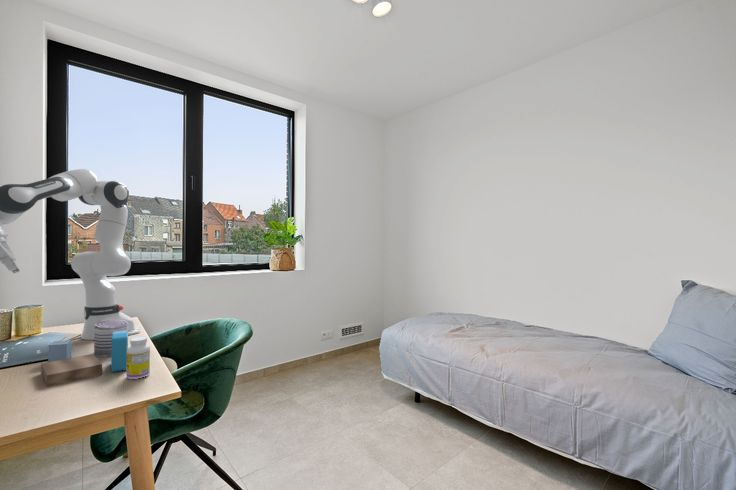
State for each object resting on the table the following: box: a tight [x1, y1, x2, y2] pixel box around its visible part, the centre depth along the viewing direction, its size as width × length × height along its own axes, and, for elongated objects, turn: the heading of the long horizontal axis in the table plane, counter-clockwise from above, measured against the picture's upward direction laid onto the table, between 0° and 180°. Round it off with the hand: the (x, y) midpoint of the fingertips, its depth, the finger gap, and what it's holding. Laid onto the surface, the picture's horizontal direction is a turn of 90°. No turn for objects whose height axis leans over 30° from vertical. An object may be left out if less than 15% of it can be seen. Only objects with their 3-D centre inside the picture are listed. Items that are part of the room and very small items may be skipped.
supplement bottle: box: [125, 336, 151, 380], centre depth 119 cm, size 7×7×13 cm
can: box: [93, 320, 129, 357], centre depth 142 cm, size 11×11×12 cm
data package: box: [110, 330, 129, 373], centre depth 127 cm, size 12×4×12 cm, turn 34°
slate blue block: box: [47, 339, 73, 362], centre depth 129 cm, size 5×5×8 cm
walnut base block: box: [40, 353, 103, 388], centre depth 119 cm, size 14×14×4 cm
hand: (15, 271), depth 123 cm, fingers open, 8 cm apart
